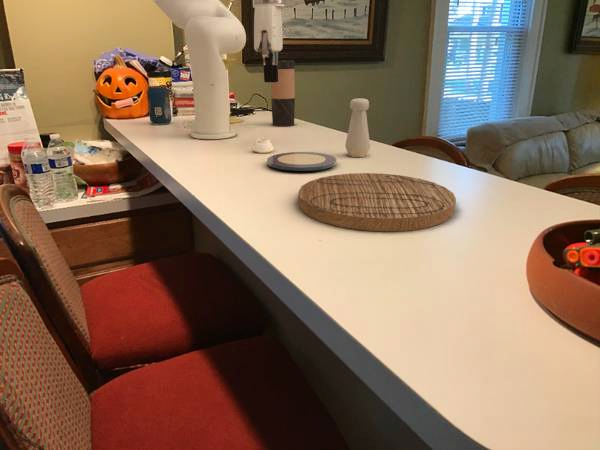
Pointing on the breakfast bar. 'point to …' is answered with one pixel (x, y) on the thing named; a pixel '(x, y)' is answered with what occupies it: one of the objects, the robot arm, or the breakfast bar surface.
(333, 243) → the breakfast bar surface
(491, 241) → the breakfast bar surface
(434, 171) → the breakfast bar surface
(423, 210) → the trivet
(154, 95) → the soda can
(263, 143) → the white jar
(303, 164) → the plate
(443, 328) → the breakfast bar surface
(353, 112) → the salt shaker
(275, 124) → the travel mug
